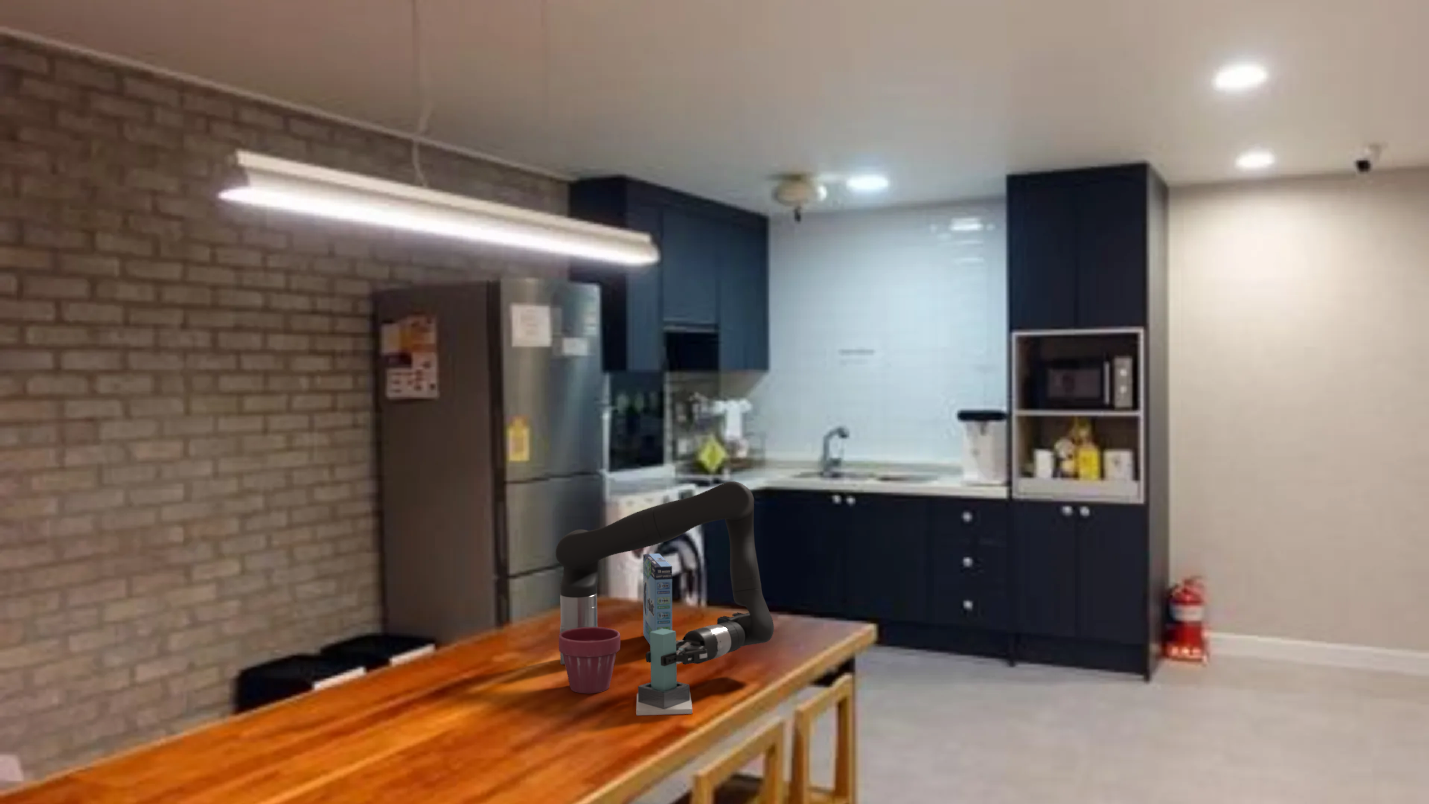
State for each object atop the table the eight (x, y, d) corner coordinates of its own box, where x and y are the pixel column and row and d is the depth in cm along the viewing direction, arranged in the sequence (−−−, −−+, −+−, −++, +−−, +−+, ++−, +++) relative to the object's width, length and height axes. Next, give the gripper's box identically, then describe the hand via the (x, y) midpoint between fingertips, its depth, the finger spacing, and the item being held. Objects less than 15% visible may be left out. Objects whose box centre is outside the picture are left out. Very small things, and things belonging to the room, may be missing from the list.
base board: (636, 715, 229) (636, 710, 229) (637, 698, 241) (637, 693, 241) (692, 713, 230) (692, 709, 230) (690, 696, 242) (690, 692, 242)
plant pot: (631, 683, 253) (631, 629, 252) (601, 700, 240) (600, 643, 240) (580, 676, 259) (579, 623, 258) (547, 692, 246) (546, 637, 246)
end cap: (735, 645, 286) (734, 620, 286) (716, 640, 292) (715, 616, 291) (760, 638, 294) (759, 613, 293) (741, 633, 299) (741, 609, 298)
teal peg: (664, 698, 233) (663, 634, 232) (651, 695, 235) (650, 632, 235) (677, 694, 236) (675, 631, 235) (663, 690, 238) (662, 628, 238)
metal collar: (664, 709, 230) (664, 693, 230) (638, 702, 235) (638, 686, 235) (689, 700, 236) (689, 684, 236) (663, 693, 241) (663, 678, 241)
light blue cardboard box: (643, 635, 297) (642, 554, 296) (661, 634, 298) (660, 553, 298) (654, 654, 278) (653, 566, 277) (673, 652, 279) (672, 565, 279)
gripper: (684, 622, 250) (631, 637, 238) (730, 632, 241) (677, 647, 228) (684, 654, 251) (631, 670, 238) (730, 665, 241) (678, 682, 228)
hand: (654, 659), depth 233 cm, fingers closed on teal peg, 4 cm apart
